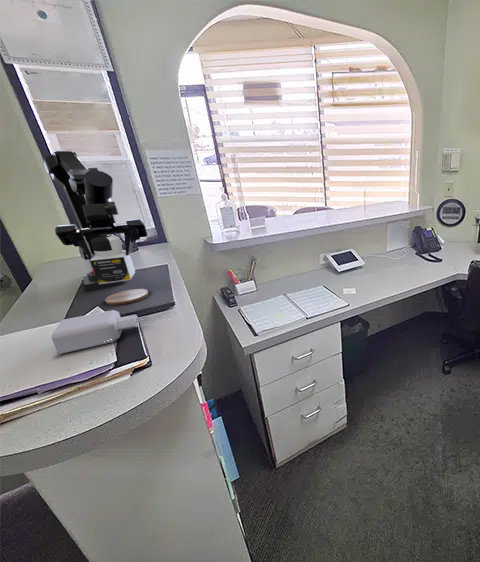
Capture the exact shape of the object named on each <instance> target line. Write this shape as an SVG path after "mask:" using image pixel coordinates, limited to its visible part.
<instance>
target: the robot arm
mask: <svg viewBox="0 0 480 562" xmlns="http://www.w3.org/2000/svg"><path fill="white" fill-rule="evenodd" d="M43 165H44V168H45V170H46V174H48V175H50V176H51V178H52V180H53V182H55V183H56V184H57V185H59V187H61V188H62V189H63V191H64V194H65V196H66V198H67V201H68V203H69V204H70V205H69V206H70V207H71V209H72V212H73V214H74V217H75V219H76V221H77V223H78V226H79V227H78V226H77V225H76V224H75V223H73V224H61V225H57V226H56V227H55V228H54V231H55V236H56V237H57V238H58V239H59V241H60V242H61V243H62V244H63V245H64V246H74V247H75V248H76V247H78V252H79V255H80V258H81V259H83V260H84V261H89V264H90V267H91V270H92V269H93V266H92V264H91V261H90V260H91V259H92V258H93V257H94V256H95V255H96V254H95V252H94V250H93V247H92V244H91V240H92V239H94V238H96V237H100V236H108V235H119V234H120V235H121V234H123V235H124V250H126V254H127V256H128V255H129V254H130V255H131V251H132V248H133V246H134V244H135V243H136V241H138V240H140V239H141V238H146V237H148V231H147V227H146V225H145V221H144V219H141V218H135V219H134V218H133V219H126V220H125V222H126V225H117V220H116V216H117V215H119V210H118V207H117V204H116V202H115V201H112V198H113V189H114V187H113V185H114V184H113V182H114V180H113V177H112V175H110V174H108V173H106V172H104V171H101V170H99V169H98V167H88V168H87V167H86V165H84V164H83V162H82V161H81V159H80V157H78V155H77V153H76V151H73V150H55V151H52V154H50V155H48V156H45V157H44V159H43Z"/></svg>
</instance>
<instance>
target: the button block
mask: <svg viewBox="0 0 480 562" xmlns="http://www.w3.org/2000/svg"><path fill="white" fill-rule="evenodd" d="M82 278H83V284H84V287H85V290H86V292H91V291H96V290H101V289H104V288H111V287H115V286H119V285H123V284H124V281H120V282H112V283H105V284H99V283H98V280H97V278H96V275H95V274H93V272H92V271H90V272H88V273H86V275H85V276H83V277H82Z"/></svg>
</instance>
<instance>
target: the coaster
mask: <svg viewBox="0 0 480 562" xmlns="http://www.w3.org/2000/svg"><path fill="white" fill-rule="evenodd" d="M149 293H150V292H149V290H148V289H145V288H132V289H126V290H122V291H118V292H114V293H113V294H110V295H108V296H106V297H105V299H104V301H105V304H107V305H109V306H110V305H111V306H120V305H126V304H132V303H134V302H135V303H136V302H138V301H141V300H143V299H145V298H147V297H148V296H149Z"/></svg>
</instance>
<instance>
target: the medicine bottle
mask: <svg viewBox="0 0 480 562" xmlns="http://www.w3.org/2000/svg"><path fill="white" fill-rule="evenodd" d="M91 244H92V247H93V250H94V252H95V254H96V255H95V256H94V257H93V258H92V259H91V260H90V261H91V264H92V266H93V269H94V272H95V275H96V278H97V280H98V283H99V284H105V283H112V282H120V281H123V282H127V281H131V280H132V278H133V277H134V276H135V274H136V270H135V267H134V263H133V261H132V256H131V253H130V254H129V255H128V256H127V254H126V250H125V249H124V248H123V245H122V241H121V239H120V237H119V236H118V235H114V234H111V235H107V236H100V237H96V238H94V239H92V240H91ZM90 261H89V262H90ZM91 264H90V265H91Z"/></svg>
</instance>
